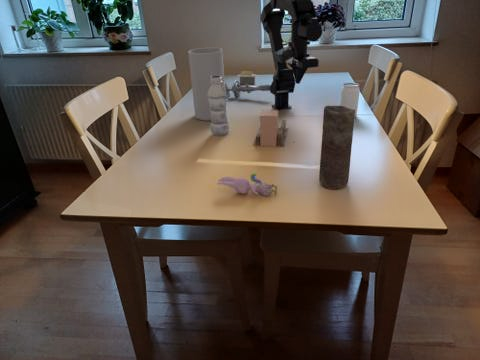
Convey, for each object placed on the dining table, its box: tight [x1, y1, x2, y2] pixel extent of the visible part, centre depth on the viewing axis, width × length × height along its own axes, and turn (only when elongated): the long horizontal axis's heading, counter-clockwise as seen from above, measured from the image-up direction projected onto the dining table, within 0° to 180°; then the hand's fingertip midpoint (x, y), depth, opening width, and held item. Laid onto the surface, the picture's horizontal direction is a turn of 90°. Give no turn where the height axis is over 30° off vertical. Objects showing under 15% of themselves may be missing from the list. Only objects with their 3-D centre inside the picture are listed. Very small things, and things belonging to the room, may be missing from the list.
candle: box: [318, 105, 356, 190], centre depth 86 cm, size 8×7×20 cm
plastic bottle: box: [208, 76, 230, 137], centre depth 118 cm, size 6×7×20 cm
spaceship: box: [224, 79, 271, 99], centre depth 160 cm, size 8×35×8 cm
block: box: [259, 110, 279, 148], centre depth 110 cm, size 5×5×10 cm
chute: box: [252, 119, 289, 148], centre depth 117 cm, size 16×10×4 cm, turn 168°
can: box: [339, 82, 361, 118], centre depth 131 cm, size 6×6×12 cm
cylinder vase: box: [188, 47, 225, 122], centre depth 135 cm, size 12×12×25 cm
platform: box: [237, 70, 258, 85], centre depth 182 cm, size 12×18×7 cm, turn 77°
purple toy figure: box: [216, 173, 278, 197], centre depth 87 cm, size 6×6×15 cm
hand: (297, 83), depth 129 cm, fingers closed
